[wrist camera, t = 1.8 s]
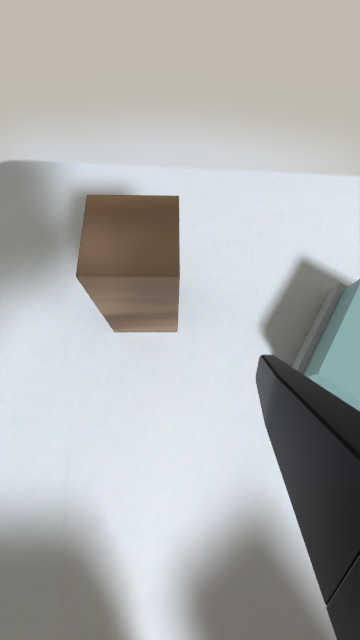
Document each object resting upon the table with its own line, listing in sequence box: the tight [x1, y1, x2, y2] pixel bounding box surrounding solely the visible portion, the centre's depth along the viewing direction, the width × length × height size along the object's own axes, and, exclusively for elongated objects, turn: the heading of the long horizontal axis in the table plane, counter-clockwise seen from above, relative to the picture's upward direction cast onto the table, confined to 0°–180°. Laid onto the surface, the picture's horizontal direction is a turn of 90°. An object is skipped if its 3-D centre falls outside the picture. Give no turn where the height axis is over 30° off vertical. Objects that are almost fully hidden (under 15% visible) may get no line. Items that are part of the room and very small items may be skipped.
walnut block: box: [76, 195, 180, 332], centre depth 20 cm, size 6×6×10 cm
